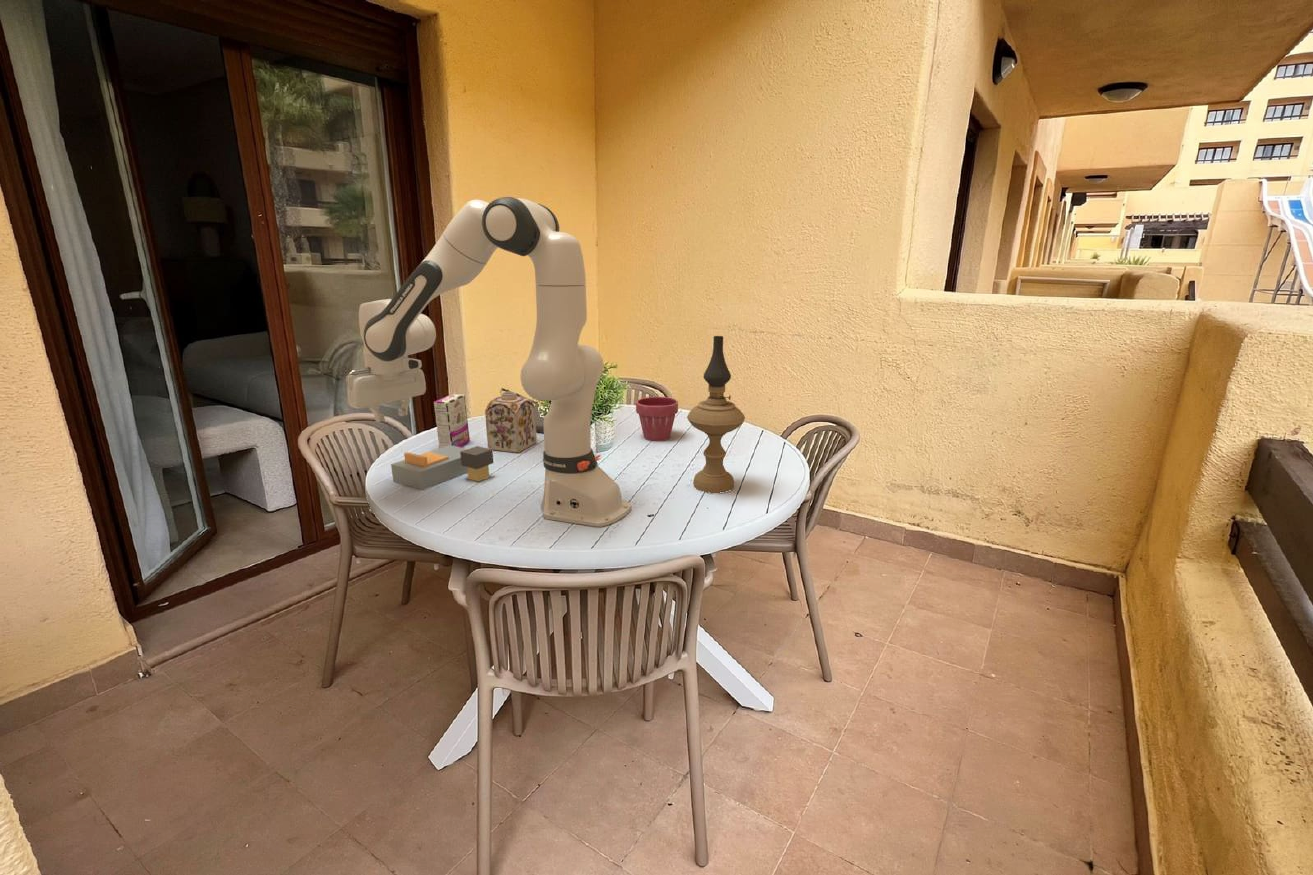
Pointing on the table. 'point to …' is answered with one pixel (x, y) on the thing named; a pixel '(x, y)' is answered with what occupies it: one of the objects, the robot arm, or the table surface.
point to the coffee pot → (537, 417)
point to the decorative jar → (510, 423)
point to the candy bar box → (452, 421)
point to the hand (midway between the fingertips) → (391, 418)
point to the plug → (477, 462)
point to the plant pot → (657, 416)
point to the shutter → (424, 458)
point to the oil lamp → (715, 423)
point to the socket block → (430, 469)
